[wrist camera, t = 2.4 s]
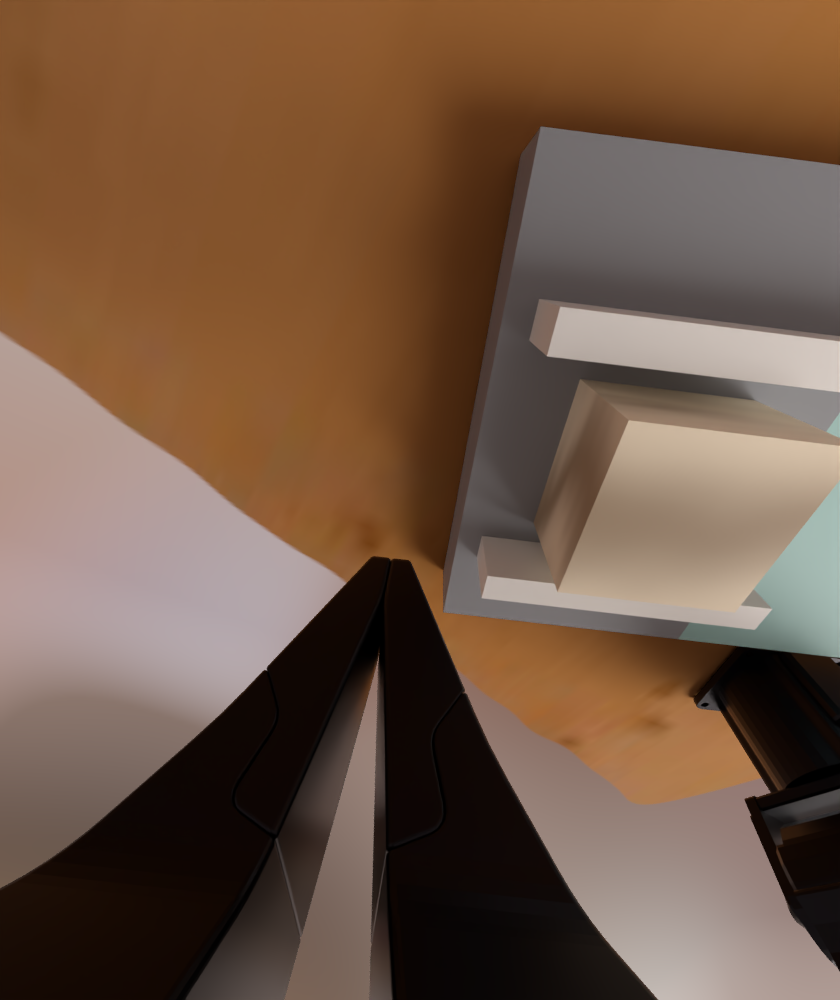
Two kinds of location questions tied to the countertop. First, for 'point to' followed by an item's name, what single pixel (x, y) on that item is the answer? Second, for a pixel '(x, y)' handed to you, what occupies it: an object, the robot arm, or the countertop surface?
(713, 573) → the beech block
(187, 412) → the countertop surface
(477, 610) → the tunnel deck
